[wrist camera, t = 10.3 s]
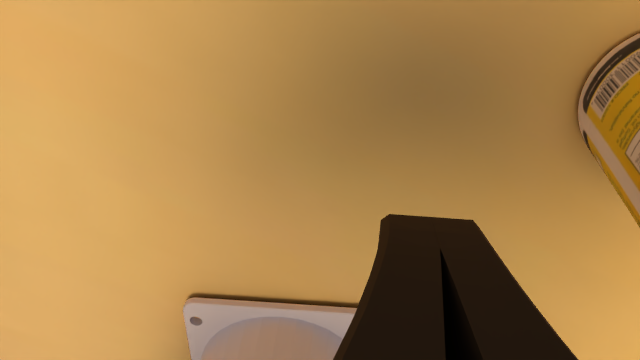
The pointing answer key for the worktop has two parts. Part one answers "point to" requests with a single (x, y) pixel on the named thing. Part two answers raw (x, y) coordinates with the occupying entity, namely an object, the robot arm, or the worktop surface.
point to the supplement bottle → (615, 119)
